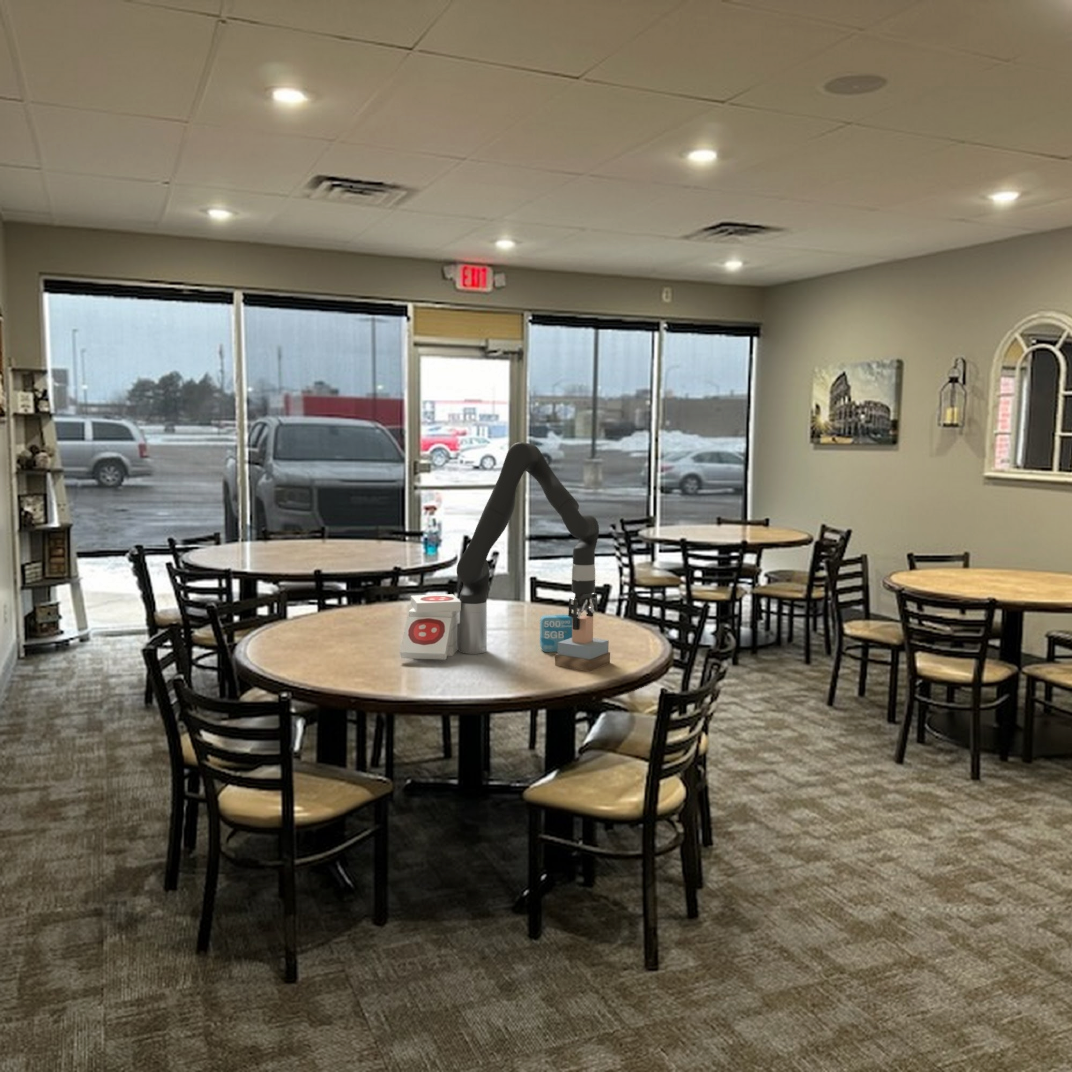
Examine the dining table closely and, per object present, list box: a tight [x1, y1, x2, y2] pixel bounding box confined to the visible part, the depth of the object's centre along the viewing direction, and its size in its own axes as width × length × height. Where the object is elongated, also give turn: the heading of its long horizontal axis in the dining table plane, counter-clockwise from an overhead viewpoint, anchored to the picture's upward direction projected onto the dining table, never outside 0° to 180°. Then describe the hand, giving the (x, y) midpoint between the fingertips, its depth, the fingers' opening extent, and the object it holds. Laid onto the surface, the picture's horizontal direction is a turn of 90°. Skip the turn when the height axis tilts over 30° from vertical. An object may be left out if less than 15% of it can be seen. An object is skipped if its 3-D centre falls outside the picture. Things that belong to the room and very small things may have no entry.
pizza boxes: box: [399, 593, 461, 660], centre depth 321 cm, size 19×30×18 cm, turn 175°
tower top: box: [557, 637, 610, 660], centre depth 309 cm, size 12×12×4 cm
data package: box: [539, 614, 572, 653], centre depth 328 cm, size 12×4×12 cm, turn 96°
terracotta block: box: [572, 615, 594, 644], centre depth 308 cm, size 5×5×8 cm
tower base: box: [554, 651, 611, 672], centre depth 309 cm, size 13×13×4 cm
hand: (582, 627), depth 308 cm, fingers open, 8 cm apart
